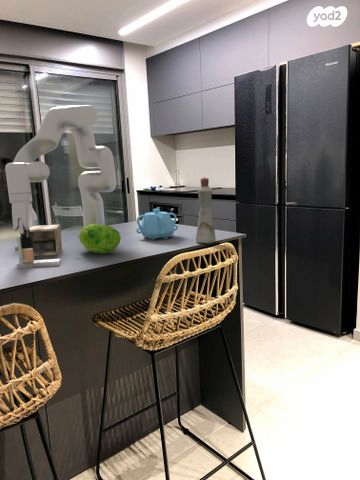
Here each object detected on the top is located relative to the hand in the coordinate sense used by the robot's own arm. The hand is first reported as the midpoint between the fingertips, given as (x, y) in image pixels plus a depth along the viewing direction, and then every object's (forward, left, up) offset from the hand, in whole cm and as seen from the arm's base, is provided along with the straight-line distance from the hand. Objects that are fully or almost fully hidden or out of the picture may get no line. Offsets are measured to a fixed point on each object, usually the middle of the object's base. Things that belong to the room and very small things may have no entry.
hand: (26, 247), depth 143 cm
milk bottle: (+7, -37, -6) cm, 38 cm away
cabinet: (-3, -15, -6) cm, 16 cm away
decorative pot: (-51, -33, -6) cm, 61 cm away
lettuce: (-25, -8, -6) cm, 27 cm away
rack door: (+3, -4, -5) cm, 7 cm away
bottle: (-70, -15, -6) cm, 72 cm away
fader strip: (-5, +6, -6) cm, 9 cm away
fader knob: (-2, +6, -4) cm, 7 cm away
